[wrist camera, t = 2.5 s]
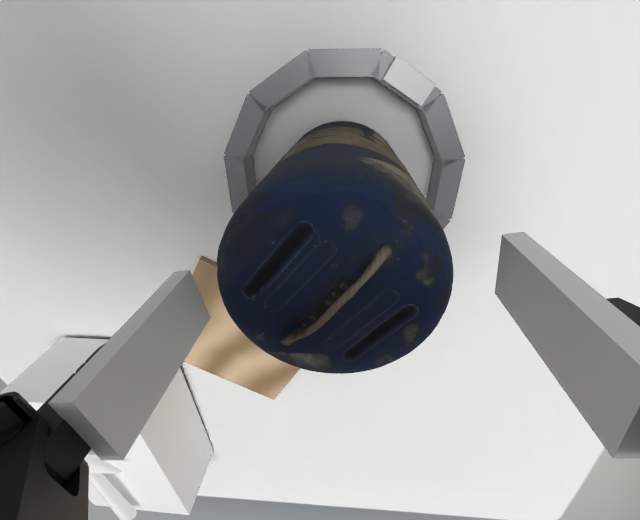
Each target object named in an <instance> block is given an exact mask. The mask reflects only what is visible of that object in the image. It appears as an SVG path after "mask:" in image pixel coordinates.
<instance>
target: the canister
mask: <svg viewBox="0 0 640 520" xmlns="http://www.w3.org/2000/svg"><path fill="white" fill-rule="evenodd" d="M217 265H218V269H217V280H218V286H219V291H220V294H221V297H222V300H223V303H224V306H225V307H226V310H227V312H228V314H229V315H230V317H231V318H232V320H233V321H234V323H235V324H236V325H237V327H238V328H239V329H240V330H241V331H242V332H243V333H244V335H245V336H246V337H247V338H248V339H249V340H251V341H252V342H253V343H254V344H255V345H257V346H258V347H259V348H260V349H262V350H263V351H265V352H266V353H268V354H269V355H271V356H273V357H274V358H276V359H278V360H280V361H282V362H285V363H287V364H290V365H292V366H295V367H298V368H302V369H306V370H310V371H316V372H323V373H355V372H361V371H367V370H371V369H375V368H379V367H381V366H384V365H386V364H389V363H391V362H393V361H395V360H397V359H399V358H401V357H403V356H405V355H407V354H408V353H409V352H411V351H412V350H414V349H415V348H416V347H417V346H419V345H420V344H421V343H422V342H423V341H424V340H425V339H426V338H427V337H428V336H429V335H430V334H431V333H432V331H433V330H434V329H435V327H436V326H437V324H438V323H439V321H440V319H441V317H442V316H443V314H444V312H445V310H446V307H447V305H448V302H449V299H450V295H451V291H452V283H453V264H452V256H451V252H450V248H449V245H448V242H447V239H446V236H445V233H444V231H443V229H442V227H441V225H440V223H439V221H438V219H437V218H436V216H435V214H434V213H433V211H432V209H431V208H430V206H429V205H428V203H427V201H426V200H425V198H424V196H423V195H422V193H421V191H420V190H419V188H418V187H417V185H416V184H415V182H414V181H413V179H412V177H411V176H410V174H409V172H408V171H407V169H406V168H405V167H404V165H403V164H402V163H401V161H400V160H399V159H398V157H397V156H396V154H395V153H394V151H393V150H392V148H391V147H390V146H389V144H388V143H387V142H386V141H385V140H384V139H383V138H382V137H381V136H380V135H379V134H378V133H377V132H375V131H374V130H372V129H370V128H368V127H366V126H364V125H361V124H358V123H353V122H344V121H340V122H331V123H327V124H324V125H321V126H319V127H316V128H314V129H313V130H311V131H309V132H308V133H307V134H305V135H304V136H303V137H302V138H301V139H300V140H299V141H298V142H297V143H296V144H295V145H294V146H293V147H292V148H291V149H290V150H289V151H288V152H287V153H286V154H285V155H284V156H283V158H282V159H281V160H280V161H279V162H278V163H277V165H276V166H275V167H274V168H273V169H272V170H271V171H270V172H269V173H268V175H267V176H266V177H265V178H264V179H263V180H262V181H261V182H260V184H259V185H258V186H257V187H256V188H255V189H254V190H253V191H252V192H251V193H250V194H249V195H248V196H247V198H246V199H245V200H244V201H243V202H242V203H241V205H240V206H239V207H238V209H237V210H236V211H235V213H234V214H233V216H232V218H231V220H230V221H229V223H228V225H227V227H226V229H225V232H224V234H223V237H222V240H221V242H220V246H219V249H218V256H217Z"/></svg>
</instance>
